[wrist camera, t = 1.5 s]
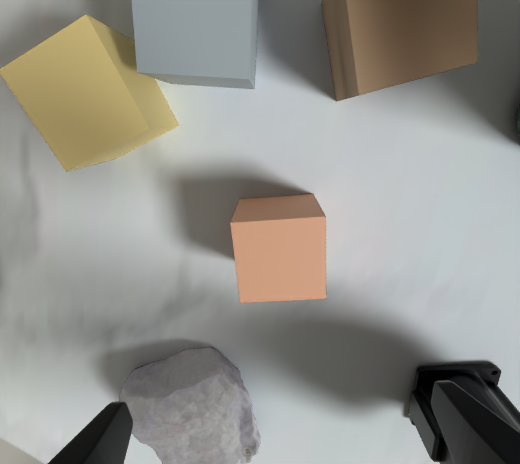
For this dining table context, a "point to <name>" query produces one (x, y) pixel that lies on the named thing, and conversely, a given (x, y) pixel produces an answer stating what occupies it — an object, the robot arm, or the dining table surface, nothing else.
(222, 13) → the slate cube
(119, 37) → the ochre cube
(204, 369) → the stone block
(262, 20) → the dining table surface
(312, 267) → the terracotta cube
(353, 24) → the walnut cube
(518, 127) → the coffee jar
